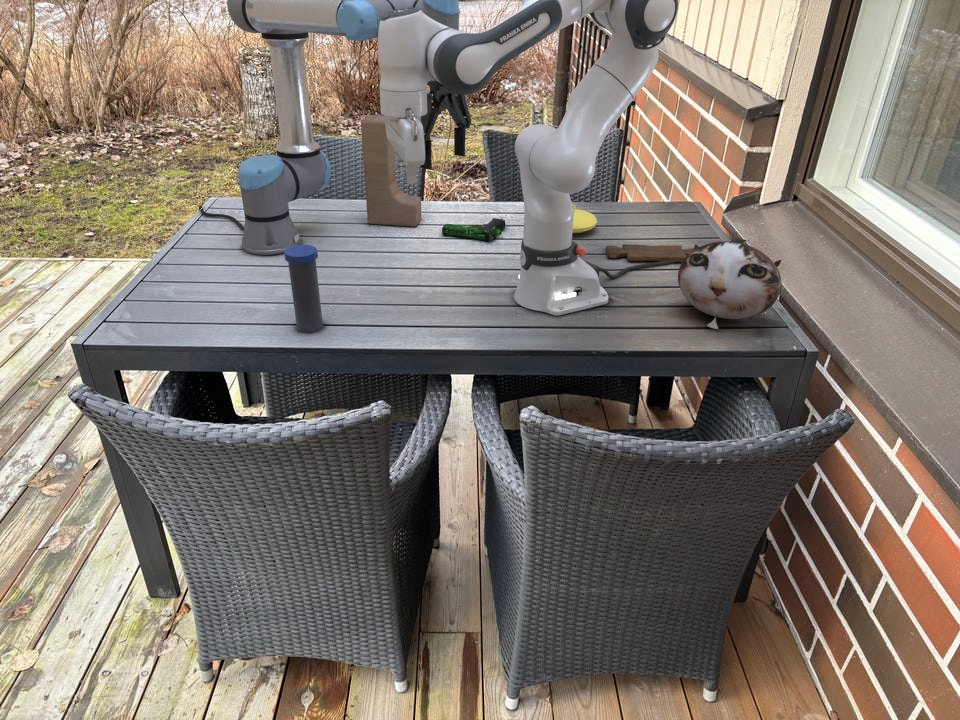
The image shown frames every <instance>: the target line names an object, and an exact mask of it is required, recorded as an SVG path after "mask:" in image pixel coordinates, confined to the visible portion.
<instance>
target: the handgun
mask: <svg viewBox="0 0 960 720" xmlns="http://www.w3.org/2000/svg"><path fill="white" fill-rule="evenodd" d="M505 228H506V220H505V219H503V218H497V217H492V219H491V220H490V221H489V222H488V223H483V224H482V225H479V224H472V225H459V224H453V223H445V224H443V226H442V227H441V235H446V236H454V237H462V238H469V239H470V238H471V239H474V240H479V241H484V242H491V241H492V240H494V239H495V238H497V237H500V236H502V230H504V229H505Z"/></svg>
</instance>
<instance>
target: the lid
mask: <svg viewBox="0 0 960 720" xmlns="http://www.w3.org/2000/svg"><path fill="white" fill-rule="evenodd" d="M283 254H284V260H285V261H286V262H287V263H288V262H289V263H293V264H304V263H309V262H312V261H314V260H316V261H317V259H318V258H319V253H318V249H317V247H316V246H314V245H311V244H299V245H295V246H291V247H289V248H287V249H286V250H285V251H284V253H283Z"/></svg>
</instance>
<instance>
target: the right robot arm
mask: <svg viewBox="0 0 960 720" xmlns="http://www.w3.org/2000/svg"><path fill="white" fill-rule="evenodd" d="M678 10H679V0H521V7H520V8H519V9H518V10H517V11H515V12H514V13H512V14H510V15H509V16H508V17H505V18H504V19H502V20H501V21H499V22H498V23H496V24H495V25H493V26H491V27H490V28H488V29H486V30H484V31H480V32H474V33H473V32H472V33H471V32H464V31H461V30H459V31H458V30H456V29H453V28H450V27H448V26H445V25H443V24H441V23H439V22H437V21H435V20H433V19H431V18H430V17H428V16H427V15H425V14H424V13H423V12H422V11H421V10H420V9H417V8H402V9H397V10H393V11H390V12H388V13H386V14H385V15H384V16H383V17H382V18H381V20H380V24H379V31H378V38H377V62H378V66H379V69H380V82H379V103H380V104H379V105H380V115H382V116H384V118H385V126H386V133H387V138H388V141H389V142H390V144H391V145H392V146H393V148H394V157H395V166H396V169H397V170H398V171H399V172H403V171H406V173H405V182H406V183H407V185H416V184H417V174H418V170H419V166H420V165H423V164H424V162H425V143H424V130H423V125H422V123H421V116H424V115H426V114H427V93H428V85H427V83H428V82H429V81H438V82H439V83H441V84H442V85H443V86H444V87H445V88H447V89H448V90H449V91H451V92H452V93H455V94H458V95H464V96H470V95H473V94H476V93H477V92H479V91H480V90H482V89H483V88H484V87H485V86H486V85H487V84H488V83H489V81H490V80H491V79H492V78H493V77H494V75H495V74H496V73H497V72H498V71H499V69H500V68H502V67H503V66H504V65H505V64H507V63H508V62H510V61H512V60H513V59H515V58H516V57H517V56H519V55H521V54H523V53H524V52H526V51H527V50H529V49H530V48H533V47H534V46H535V45H537V44H539V42H541V41H543V40H545V39H546V38H547V37H549V36H550V35H553V34H554V33H556V32H559V31H560V30H562V29H564V28H567V27H568V26H571V25H572V24H574V23H576V22H578V21H579V20H582V19H583V18H585V17H587V16H588V15H589V17H590V18H591V19H592V20H593V22H594V23H595V24H597V25H598V26H599V27H600V28H603V29H606V30H609V31H611V36H610V40H609V43H608V45H607V47H606V49H605V51H603V53H602V54H601V55H600V56H599V57H598V58H597V60H596V61H595V62H594V64H593V65H592V66H591V67H590V69H588V71H587V72H586V73H585V74H584V76H583V77H582V79H581V80H580V81H579V83H578V84H577V85H576V86H575V87H574V89H573V90H572V91H571V93H570V94H569V96H568V99H567V108H566V111H565V112H564V115H563V118H562V119H561V122H560V124H559V125H558V126H557V128H555V127H554V126H552V125H548V124H531V125H528V126H526V127H524V128H523V129H522V130H521V131H520V132H519V133H518V135H517V137H516V139H515V143H514V153H515V156H516V159H517V162H518V169H519V175H520V176H519V177H520V184H521V190H522V191H521V192H522V198H523V211H524V212H523V214H524V215H523V238H522V240H521V242H520V243H521V244H520V251H519V262H520V271H519V275H518V281H517V284H516V288H515V292H514V293H513V299H514V302H515V303H516V304H518V305H519V306H521V307H523V308H526V309H528V310H532V311H537V312H544V313H547V314H549V315H552V316H557V317H558V316H563V315H567V314H570V313H575V312H579V311H583V310H587V309H592V308H595V307H600V306H604V305H608V303H609V294H608V292H607V290H606V289H604V287H602V286H601V283H600V273H604V275H605V276H606V277H607V278H609V279H611V280H615V279H618V278H620V277H621V276H622V275H623V274H625V273H627V272H629V271H632V270H635V269H641V268H648V267H656V266H662V265H668V264H675V263H676V262H675V261H673V260H666V261H653V262H648V263H641V264H635V265H631V266H628V267H625V268H623V269H622V270H621V271H619V272H617V273H616V274H611V272H609V271H608V270H607V269H605V268H602V267H600V266H599V265H596V264H594V263H592V262H589V261H587V260H584V259H582V257H586V255H587V249H586V248H585V247H583V246H582V245H579V244H578V243H577V242H576V241H574V240H573V233H572V232H573V220H574V208H573V205H574V204H573V203H572V200H571V195H572V194H577V193H580V192H582V191H584V190H585V189H586V188H587V187H588V186H589V185H590V184H591V182H592V180H593V179H594V176H595V173H596V160H597V157H598V154H599V152H600V149H601V147H602V144H603V142H604V141H605V138H606V137H607V135H608V133H609V132H610V131H611V129H612V127H613V126H614V125H615V123H616V122H617V121H618V120H619V118H620V117H621V116H622V114H623V113H624V112H625V111H626V109H627V108H628V107H629V106H630V104H631V103H632V102H633V101H634V99H636V97H637V96H638V94H639V93H640V92H641V90H642V89H643V88H644V86H645V85H646V83H647V82H648V80H649V78H650V77H651V75H652V73H653V72H654V70H655V68H656V66H657V64H658V62H659V56H660V55H659V49H658V46H659V45H661V43H662V42H664V41H665V38H666V36H667V34H668V33H669V32H670V30H671V28H672V27H673V24H674V23H675V20H676V18H677V14H678ZM570 194H571V195H570ZM739 237H740V236H738V237H736V238H734V239H733V240H730V241H729V242H739V241H741V240H742V239H739Z"/></svg>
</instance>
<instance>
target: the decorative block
mask: <svg viewBox="0 0 960 720" xmlns="http://www.w3.org/2000/svg"><path fill="white" fill-rule="evenodd" d="M360 130H361V131H360V132H361V145H362V160H363V174H364V175H363V176H364V188H365V201H366V203H365V204H366V217H367V223H368V224H370V225H382V226H383V225H384V226H385V225H386V226H398V227H400V226H401V227H415V228H416V227H418V225H419V223H420V222H421V220H422V217H423V215H422V198H421V197H420V196H416V195H411V194H406V193H405V192H404V191H402V190H401V188H400V187H399V183H398V181H397V179H396V157H395V152H394V148H393V146H392V145H391V144H390V142H389V141H388V138H387V133H386V126H385V118H384V115H382V114H379V115H378V114H368V115H366V116H365V117H363V118H362V119H361V120H360Z"/></svg>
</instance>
